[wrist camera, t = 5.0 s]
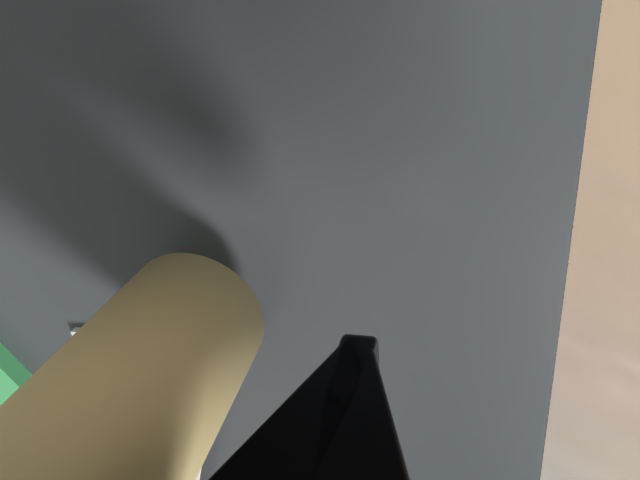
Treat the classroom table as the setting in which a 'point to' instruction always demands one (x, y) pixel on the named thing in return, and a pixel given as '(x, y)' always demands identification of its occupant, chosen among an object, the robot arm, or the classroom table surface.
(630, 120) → the classroom table surface
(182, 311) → the beige and grey mallet
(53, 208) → the gauge plate
